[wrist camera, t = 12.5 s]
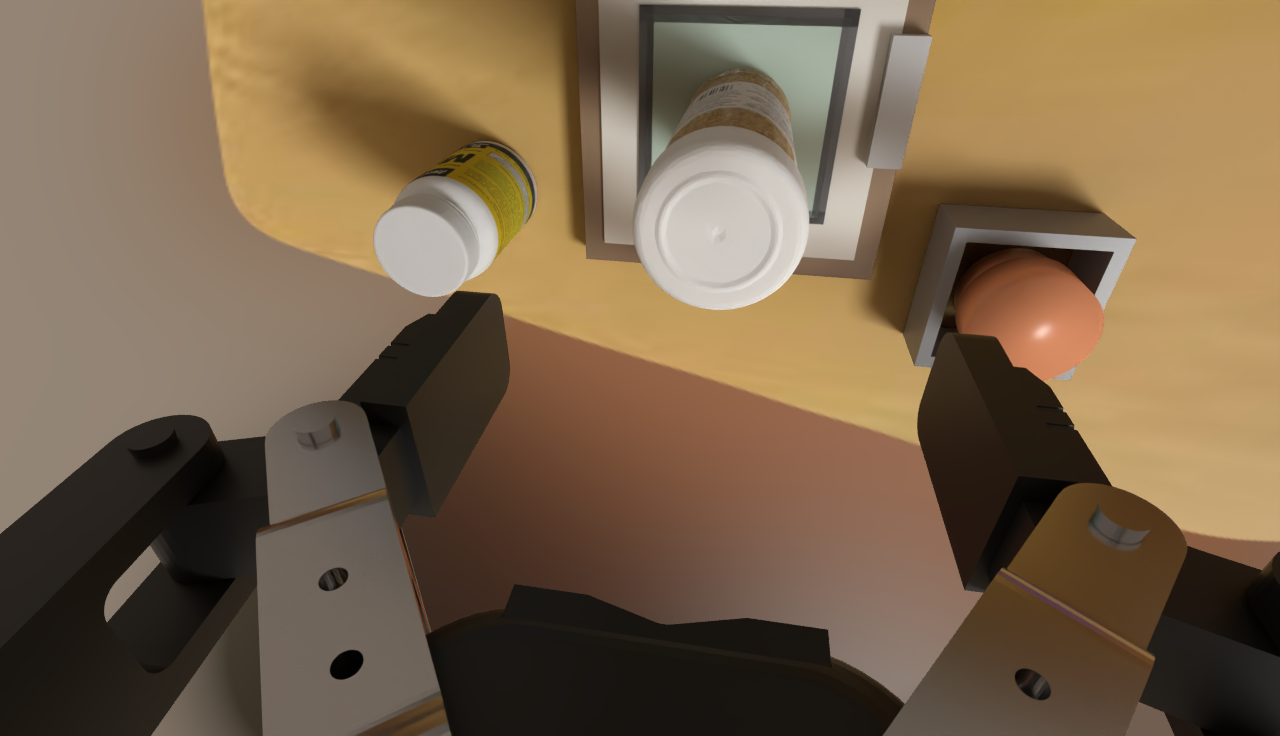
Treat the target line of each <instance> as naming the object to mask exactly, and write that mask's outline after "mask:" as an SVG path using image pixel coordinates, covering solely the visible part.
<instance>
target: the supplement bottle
mask: <svg viewBox="0 0 1280 736" xmlns="http://www.w3.org/2000/svg"><path fill="white" fill-rule="evenodd" d="M536 203H537V187H536V182H535V179H534V176H533V174H532V172H531V170H530V168H529V167H528V165H527V164H526V163H525V161H524V160H523V159H522V158H521V157H520V156H519V155H518V154H517V153H515V152H514V151H513V150H511V149H510V148H508V147H506V146H504V145H502V144H499V143H496V142H491V141H478V142H473V143H470V144H468V145H466V146H464V147H462V148H460V149H459V150H458V151H456V152H454V153H453V154H452V155H450V156H449V157H447V158H446V159H444V160H443V161H442V162H440V163H438V164H437V165H436V166H434V167H433V168H431V169H430V170H428V171H427V172H425V173H424V174H422V175H421V176H419V177H418V178H416V179H415V180H413V181H412V182H410V183H409V184H408V185H407V186H406V187H405V188H404V189H403V190H402V191H401V192H400V194H399V195H398V197H397V199H396V201H395V203H394V205H393V206H392V207H391V208H390V209H388V210H387V211H386V212H385V213H384V214H383V215H382V216H381V217H380V219H379V220H378V222H377V224H376V226H375V229H374V235H373V241H374V248H375V252H376V255H377V258H378V260H379V262H380V264H381V265H382V267H383V269H384V270H385V271H386V273H387V274H388V275H389V276H390V277H391V278H392V279H393V280H394V281H396V283H398V284H399V285H400V286H402V287H403V288H405V289H407V290H409V291H411V292H413V293H416V294H419V295H422V296H429V297H437V296H443V295H446V294H449V293H451V292H453V291H455V290H456V289H457V288H459V287H460V286H461V285H462V284H463V282H464V281H465V280H469V279H472V278H474V277H476V276H478V275H480V274H481V273H482V272H484V271H485V270H486V269H487V268H488V267H489V266H490V265H491V263H492V262H493V261H494V260H495V259H496V257H497V256H498V255H499V254H500V253H501V252H502V250H503V249H504V248H505V247H506V246H507V244H508V243H509V242H510V241H511V240H512V239H513V238H514V236H515V235H516V234H517V233H518V232H519V231H520V230H521V228H522V227H523V226H524V225H525V224H526V223H527V222H528V220H529V219H530V218H531V216H532V214H533V212H534V210H535V207H536Z"/></svg>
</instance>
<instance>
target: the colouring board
mask: <svg viewBox="0 0 1280 736" xmlns="http://www.w3.org/2000/svg"><path fill="white" fill-rule="evenodd" d="M935 2H936V0H575V5H576V28H577V51H578V74H579V98H580V121H581V144H582V167H583V190H584V213H585V236H586V259H597V260H610V261H624V262H637V263H641V261H640V259H639V257H638V254H637V251H636V248H635V244H634V240H633V233H632V219H633V211H634V206H635V202H636V199H637V196H638V193H639V191H640V189H641V186H642V184H643V182H644V180H645V178H646V176H647V174H648V172H649V170H650V168H651V167H652V165H653V164H654V162H655V161H656V159H657V158H658V157H659V156H660V154H661V153H662V152H663V151H664V150H665V149H666V147H667V145H668V143H669V141H670V139H671V137H672V135H673V133H674V131H675V130H676V128H677V126H678V124H679V123H680V121H681V119H682V117H683V115H684V114H685V112H686V110H687V109H688V107H689V104H690V101H691V99H692V97H693V96H694V94H695V93H696V91H697V90H698V89H699V88H700V87H701V85H702V84H703V83H704V82H706V81H707V80H708V79H710V78H711V77H714V76H715V75H716V74H718V73H721V72H724V71H726V70H729V69H736V68H745V69H752V70H756V71H759V72H761V73H763V74H765V75H766V76H768V77H770V78H772V79H773V80H774V81H775V82H776V83H777V85H778V86H779V87H780V88H781V89H782V90H783V92H784V94H785V96H786V98H787V100H788V105H789V109H790V112H791V128H792V134H793V143H794V149H795V155H796V163H797V168H798V170H799V172H800V174H801V176H802V179H803V182H804V186H805V189H806V194H807V201H808V209H809V233H808V240H807V244H806V248H805V251H804V254H803V256H802V258H801V260H800V262H799V264H798V266H797V267H796V269H795V271H794V272H793V274H798V275H812V276H825V277H838V278H852V279H865V280H871V277H872V273H873V269H874V264H875V260H876V256H877V252H878V247H879V243H880V239H881V234H882V230H883V226H884V221H885V217H886V213H887V208H888V204H889V200H890V196H891V191H892V187H893V183H894V178H895V174H896V170H897V169H898V170H901V168H902V164H903V159H904V155H905V151H906V147H907V143H908V138H909V134H910V130H911V126H912V121H913V117H914V113H915V109H916V104H917V100H918V96H919V92H920V88H921V83H922V79H923V75H924V71H925V66H926V62H927V58H928V54H929V49H930V45H931V41H932V37H933V36H931V35H929V34H928V32H929V28H930V23H931V19H932V15H933V10H934V6H935Z"/></svg>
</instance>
